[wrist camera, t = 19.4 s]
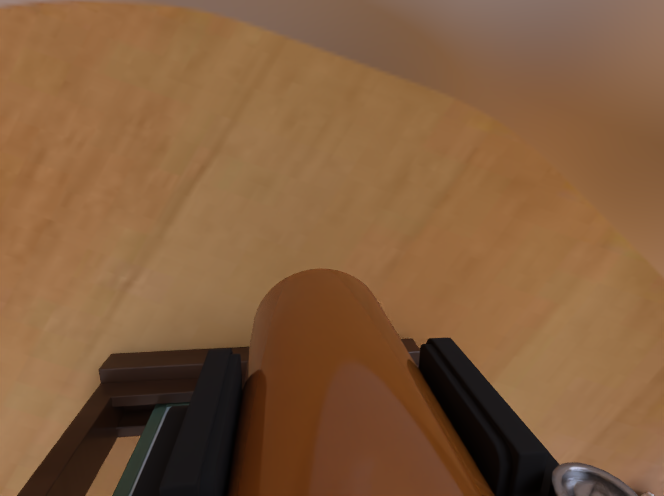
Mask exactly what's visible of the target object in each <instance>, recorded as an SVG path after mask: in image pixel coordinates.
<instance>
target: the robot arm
mask: <svg viewBox="0 0 664 496" xmlns="http://www.w3.org/2000/svg"><path fill="white" fill-rule="evenodd" d="M418 369H419V370H420V372H421V374H422V375H423V377H424V379H425V380H426V382H427V384H428V385H429V387H430V389H431V390H432V392H433V394H434V395H435V397H436V399H437V400H438V402H439V404H440V405H441V407H442V409H443V410H444V412H445V414H446V415H447V417H448V418H449V420H450V422H451V423H452V425H453V427H454V428H455V430H456V432H457V433H458V435H459V437H460V438H461V440H462V442H463V443H464V445H465V447H466V448H467V450H468V452H469V453H470V455H471V457H472V458H473V460H474V462H475V463H476V465H477V467H478V468H479V470H480V472H481V473H482V475H483V476H484V478H485V480H486V481H487V483H488V485H489V486H490V488H491V490H492V491H493V493H494V495H495V496H638V495H637V494H636V493H635V492H634V491H633V490H632V489H631V488H630V487H629V486H627V485H626V484H625V483H624V482H622V481H621V480H620V479H618V478H616V477H615V476H613V475H611V474H610V473H608V472H606V471H604V470H601V469H599V468H596V467H594V466H591V465H587V464H582V463H564V464H561V465H559V463H558V462H557V461H556V460H555V459H554V458H553V457H552V455H551V454H550V453H549V451H548V450H547V449H546V448H545V447H544V446H543V444H542V443H541V442H540V441H539V440H538V439H537V438H536V436H535V435H534V434H533V433H532V432H531V431H530V429H529V428H528V427H527V426H526V425H525V424H524V422H523V421H522V420H521V419H520V418H519V417H518V415H517V414H516V413H515V412H514V411H513V410H512V409H511V407H510V406H509V405H508V404H507V403H506V402H505V400H504V399H503V398H502V397H501V396H500V395H499V393H498V392H497V391H496V390H495V389H494V388H493V386H492V385H491V384H490V383H489V382H488V381H487V380H486V378H485V377H484V376H483V375H482V374H481V373H480V371H479V370H478V369H477V368H476V367H475V366H474V364H473V363H472V362H471V361H470V360H469V359H468V358H467V356H466V355H465V354H464V353H463V352H462V351H461V349H460V348H459V347H458V346H457V345H456V344H455V342H454V341H453V340H452V339H451V338H430V339H428V340H427V343H426V344H422V345H421V348H420V357H419V368H418ZM242 391H243V389H242V370H241V356H240V354H233V351H232V348H227V349H210V350H209V351H208V353H207V356H206V358H205V361H204V364H203V367H202V370H201V372H200V375H199V378H198V381H197V384H196V386H195V389H194V392H193V395H192V398H191V400H190V403H189V405H182V406H172V407H170V408H169V410H168V412H167V414H166V416H165V419H164V421H163V423H162V426H161V428H160V430H159V433H158V435H157V437H156V440H155V442H154V444H153V447H152V449H151V451H150V454H149V456H148V458H147V461H146V463H145V465H144V468H143V470H142V472H141V475H140V477H139V479H138V482H137V484H136V486H135V489H134V491H133V493H132V496H226V490H227V484H228V478H229V472H230V465H231V459H232V453H233V447H234V441H235V434H236V428H237V422H238V416H239V410H240V403H241V397H242Z"/></svg>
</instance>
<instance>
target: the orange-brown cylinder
mask: <svg viewBox="0 0 664 496" xmlns="http://www.w3.org/2000/svg"><path fill="white" fill-rule="evenodd" d="M226 496H495V495H494V493H493V491H492V490H491V488H490V486H489V485H488V483H487V481H486V480H485V478H484V476H483V475H482V473H481V472H480V470H479V468H478V467H477V465H476V463H475V462H474V460H473V458H472V457H471V455H470V453H469V452H468V450H467V448H466V447H465V445H464V443H463V442H462V440H461V438H460V437H459V435H458V433H457V432H456V430H455V428H454V427H453V425H452V423H451V422H450V420H449V418H448V417H447V415H446V414H445V412H444V410H443V409H442V407H441V405H440V404H439V402H438V400H437V399H436V397H435V395H434V394H433V392H432V390H431V389H430V387H429V385H428V384H427V382H426V380H425V379H424V377H423V375H422V374H421V372H420V370H419V369H418V367H417V365H416V364H415V362H414V360H413V359H412V357H411V356H410V354H409V352H408V351H407V349H406V347H405V346H404V344H403V342H402V341H401V339H400V337H399V336H398V334H397V332H396V331H395V329H394V327H393V326H392V324H391V322H390V321H389V319H388V317H387V316H386V314H385V312H384V311H383V309H382V307H381V306H380V304H379V302H378V301H377V299H376V298H375V296H374V295H373V293H372V292H371V291H370V289H369V288H368V287H367V286H366V285H365V284H363V283H362V282H361V281H360V280H358V279H357V278H355V277H353V276H351V275H349V274H347V273H344V272H341V271H338V270H332V269H310V270H306V271H301V272H299V273H296V274H293V275H291V276H289V277H287V278H285V279H283V280H282V281H280V282H279V283H278V284H276V285H275V286H274V287H273V288H272V289H271V290H270V291H269V292H268V293H267V294H266V295H265V297H264V298H263V300H262V301H261V303H260V305H259V307H258V309H257V312H256V315H255V318H254V323H253V329H252V335H251V341H250V348H249V354H248V360H247V366H246V372H245V378H244V385H243V391H242V397H241V403H240V410H239V416H238V422H237V428H236V434H235V441H234V447H233V453H232V459H231V465H230V472H229V478H228V484H227V490H226Z"/></svg>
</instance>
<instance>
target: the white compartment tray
mask: <svg viewBox="0 0 664 496" xmlns="http://www.w3.org/2000/svg"><path fill="white" fill-rule="evenodd" d="M641 496H655V495H653V494H652V493H650V492H648V493H647V494H646V493H643V494H642V495H641Z"/></svg>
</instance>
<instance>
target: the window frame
mask: <svg viewBox="0 0 664 496" xmlns="http://www.w3.org/2000/svg"><path fill="white" fill-rule="evenodd" d="M401 341H402V342H403V344H404V346H405V347H406V349H407V351H408V352H409V354H410V356H411V357H412V359H413V360H414V362H415V364H416V365H417V367H418V368H419V357H420V349H419V348H418V346H417V345H416V343H415V342H414V340H413V339H401ZM249 348H250V347H238V348H232V351H233V354H240V356H241V370H242V389H243V385H244V378H245V372H246V366H247V360H248V354H249ZM218 349H227V348H218ZM209 350H210V349H199V350H179V351H159V352H140V353H120V354H111V355H110V356H109V357H108V358H107V360H106V361H105V362H104V363H103V365H102V366H101V367H100V368H99V374H100V380H101V384H100V385H99V386H98V388H97V389H96V391H95V392H94V393H93V395H92V396H91V397H90V399H89V400H88V401H87V403H86V404H85V405H84V407H83V408H82V409H81V411H80V412H79V413H78V415H77V416H76V417H75V419H74V420H73V421H72V423H71V424H70V425H69V427H68V428H67V429H66V431H65V432H64V433H63V435H62V436H61V437H60V439H59V440H58V441H57V443H56V444H55V445H54V447H53V448H52V449H51V451H50V452H49V453H48V455H47V456H46V457H45V459H44V460H43V462H42V463H41V464H40V466H39V467H38V468H37V470H36V471H35V472H34V474H33V475H32V476H31V478H30V479H29V480H28V482H27V483H26V484H25V486H24V487H23V488H22V490H21V491H20V492H19V494H18V495H17V496H85V495H86V493H87V491H88V490H89V488H90V486H91V484H92V482H93V481H94V479H95V477H96V475H97V473H98V472H99V470H100V468H101V466H102V464H103V463H104V461H105V459H106V457H107V455H108V454H109V452H110V450H111V448H112V446H113V445H114V443H115V441H116V439H117V437H129V436H141V435H142V433H143V430H144V428H145V426H146V424H147V422H148V420H149V418H150V416H151V414H152V412H153V409H154V407H155V405H156V404H165V403H180V402H190V400H191V398H192V395H193V392H194V389H195V386H196V384H197V381H198V378H199V375H200V372H201V370H202V367H203V364H204V361H205V358H206V356H207V353H208V351H209Z"/></svg>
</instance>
